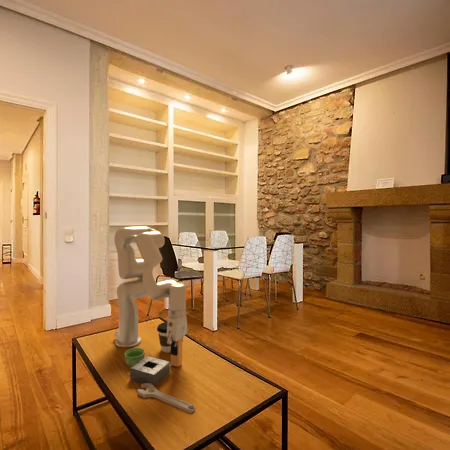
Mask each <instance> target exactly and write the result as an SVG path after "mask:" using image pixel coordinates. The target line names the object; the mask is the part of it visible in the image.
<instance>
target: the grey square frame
mask: <svg viewBox="0 0 450 450" xmlns="http://www.w3.org/2000/svg"><path fill="white" fill-rule="evenodd" d="M170 369H171V361H167V360H164V359H161V358H157V357H152V356H148V355H146V356H144V359H142V360H141V361H140V362H138V363H137V364H135V365H134V366H130V369H129V371H130V372H129V377H130V381H132V382H136V383H139V384H140V385H142V384H144V383H151V384H153V385H154V387H155V388H156V386H158V384H160V383H161V382H162V381H163V380H164V379H165V378H167V377H168V376H169V375H170V374H171V373H170V372H171V370H170Z"/></svg>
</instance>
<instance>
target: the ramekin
mask: <svg viewBox="0 0 450 450" xmlns="http://www.w3.org/2000/svg"><path fill="white" fill-rule="evenodd" d="M145 353H146V350H145V349H144V348H142V347H133V348H132V347H131V348H129V349H127V350H125V352H124V355H123V356H124V360H125V365H126V366H129V367H132V366H134V365H135V364H137V363H138V362H140V361H141V360H142V359H144V358H145Z"/></svg>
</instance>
